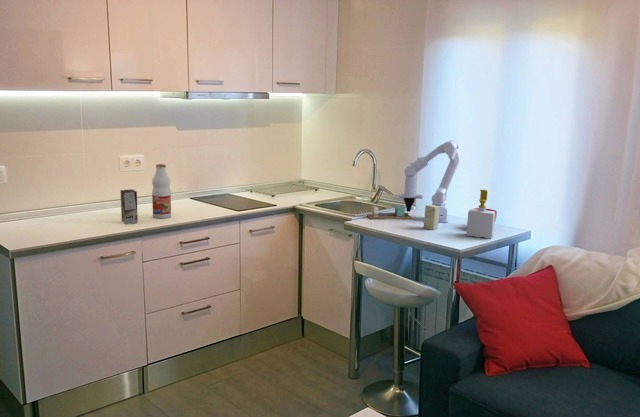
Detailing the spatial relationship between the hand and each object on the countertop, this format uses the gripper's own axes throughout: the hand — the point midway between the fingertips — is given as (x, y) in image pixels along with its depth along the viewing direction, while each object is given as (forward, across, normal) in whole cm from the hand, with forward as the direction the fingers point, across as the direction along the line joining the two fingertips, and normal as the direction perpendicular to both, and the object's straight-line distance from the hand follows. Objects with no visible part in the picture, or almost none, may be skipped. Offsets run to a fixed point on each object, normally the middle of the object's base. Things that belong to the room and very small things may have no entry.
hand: (408, 211), depth 327 cm
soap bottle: (+4, -22, +45) cm, 50 cm away
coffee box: (+4, +149, +5) cm, 149 cm away
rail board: (+3, +11, 0) cm, 12 cm away
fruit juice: (+4, +134, -6) cm, 134 cm away
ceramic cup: (+4, -30, +29) cm, 42 cm away
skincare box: (+4, -3, +28) cm, 28 cm away
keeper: (+2, +5, 0) cm, 6 cm away
